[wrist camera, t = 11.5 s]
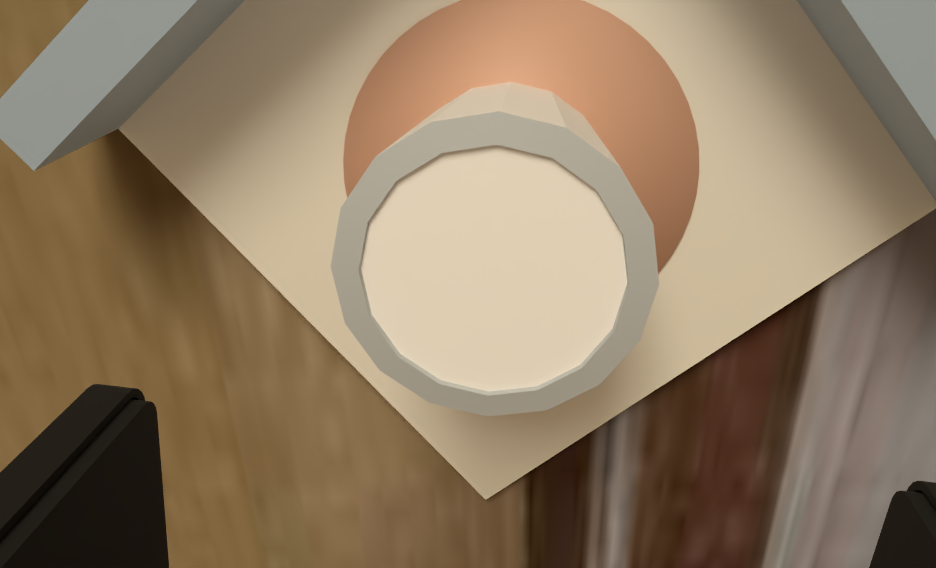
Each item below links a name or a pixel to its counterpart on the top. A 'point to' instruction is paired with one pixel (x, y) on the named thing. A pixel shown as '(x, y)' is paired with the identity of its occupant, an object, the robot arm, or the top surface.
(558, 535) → the top surface
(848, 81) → the arena
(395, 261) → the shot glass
